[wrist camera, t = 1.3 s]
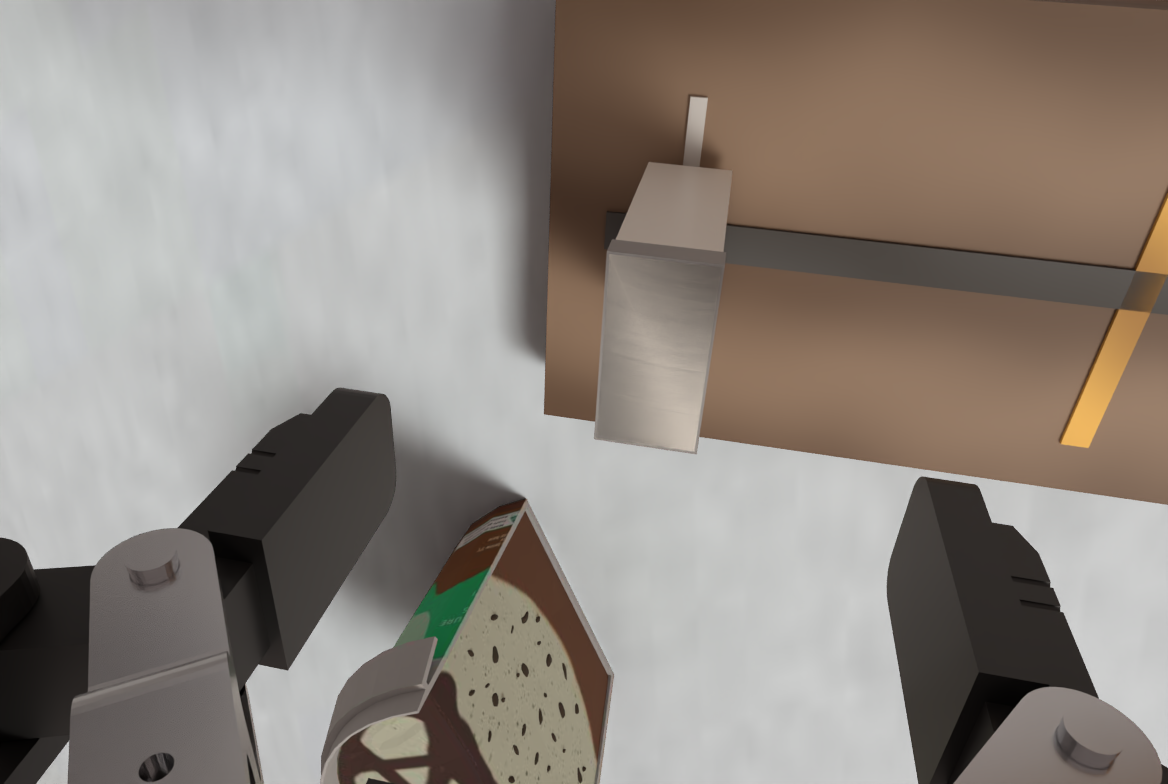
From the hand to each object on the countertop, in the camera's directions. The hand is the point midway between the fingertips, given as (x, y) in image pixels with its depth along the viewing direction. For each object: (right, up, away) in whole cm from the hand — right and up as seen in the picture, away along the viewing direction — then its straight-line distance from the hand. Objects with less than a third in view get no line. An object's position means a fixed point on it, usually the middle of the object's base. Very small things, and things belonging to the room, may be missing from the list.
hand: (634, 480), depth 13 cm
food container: (-4, -7, +20) cm, 22 cm away
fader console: (+8, +6, +10) cm, 14 cm away
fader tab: (+2, +5, +8) cm, 10 cm away
